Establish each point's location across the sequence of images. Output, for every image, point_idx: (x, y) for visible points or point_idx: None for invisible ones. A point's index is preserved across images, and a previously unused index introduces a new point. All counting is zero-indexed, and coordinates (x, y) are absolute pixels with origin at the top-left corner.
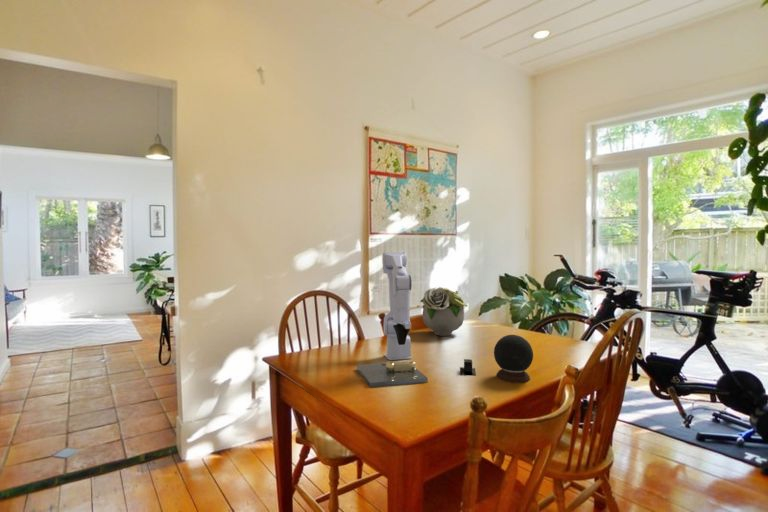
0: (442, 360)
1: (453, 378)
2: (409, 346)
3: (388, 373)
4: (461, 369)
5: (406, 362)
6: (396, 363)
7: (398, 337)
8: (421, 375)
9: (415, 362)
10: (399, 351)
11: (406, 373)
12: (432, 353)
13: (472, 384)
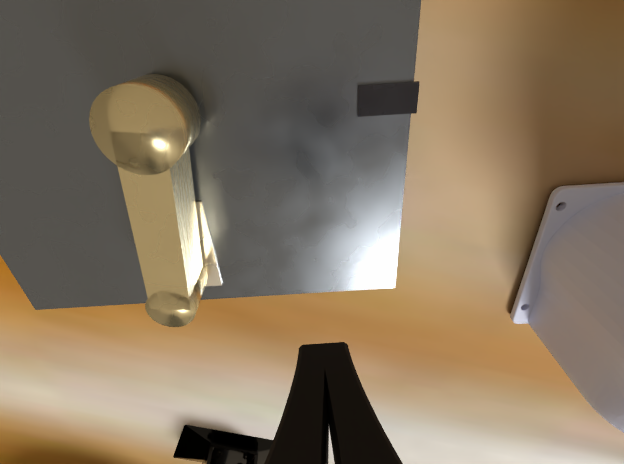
0: (413, 420)
1: (133, 395)
2: (575, 376)
3: (102, 79)
4: (255, 442)
5: (168, 270)
6: (129, 187)
7: (283, 437)
8: (78, 292)
9: (166, 324)
10: (572, 292)
11: (114, 219)
12: (543, 414)
13: (56, 426)
